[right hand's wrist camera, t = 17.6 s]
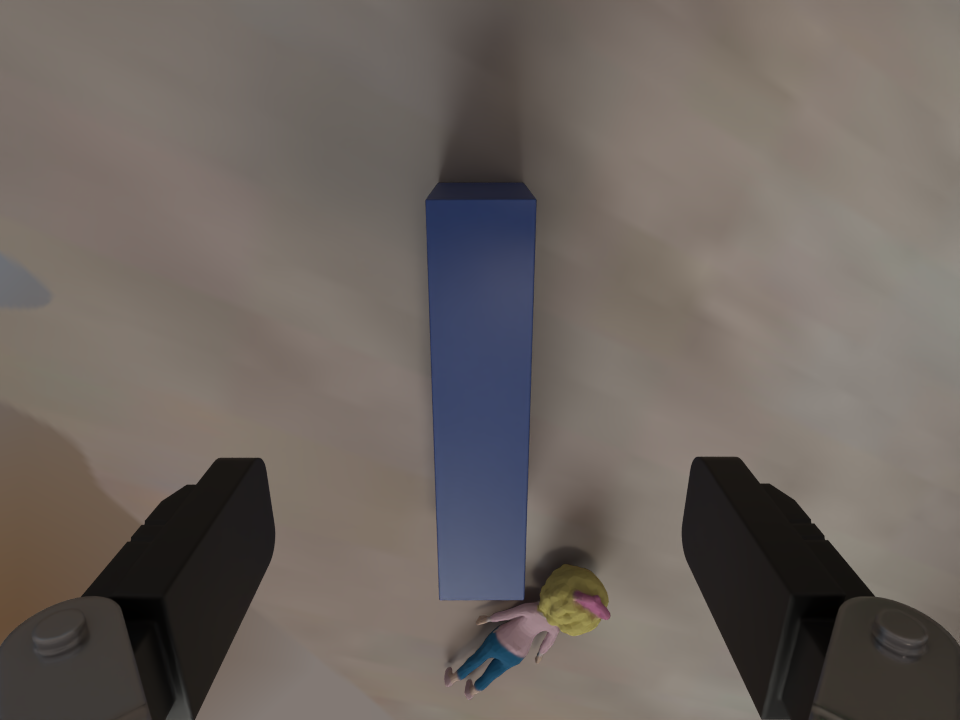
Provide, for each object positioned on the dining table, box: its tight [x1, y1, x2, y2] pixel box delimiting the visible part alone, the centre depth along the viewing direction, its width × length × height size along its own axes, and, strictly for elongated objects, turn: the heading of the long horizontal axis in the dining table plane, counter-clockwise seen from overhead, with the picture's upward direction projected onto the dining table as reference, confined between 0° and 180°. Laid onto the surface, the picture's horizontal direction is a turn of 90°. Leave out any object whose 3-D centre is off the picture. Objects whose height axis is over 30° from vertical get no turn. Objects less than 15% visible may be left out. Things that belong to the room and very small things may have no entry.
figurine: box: [444, 564, 610, 700], centre depth 43 cm, size 6×4×15 cm
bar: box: [426, 183, 537, 600], centre depth 34 cm, size 22×5×8 cm, turn 0°
